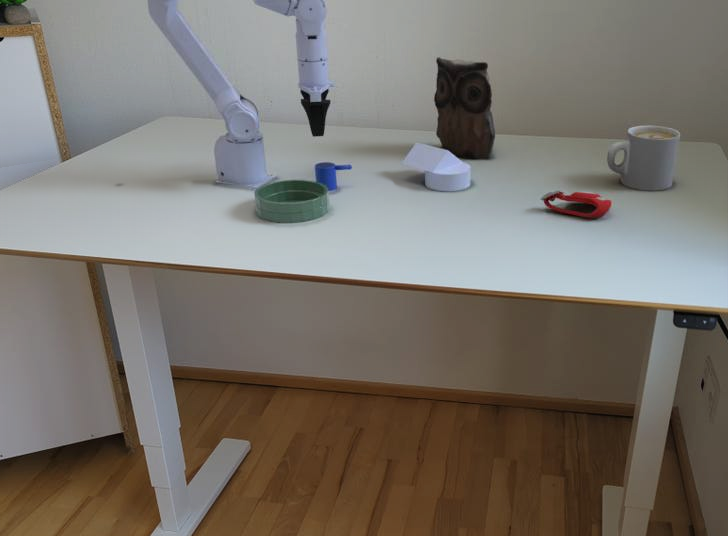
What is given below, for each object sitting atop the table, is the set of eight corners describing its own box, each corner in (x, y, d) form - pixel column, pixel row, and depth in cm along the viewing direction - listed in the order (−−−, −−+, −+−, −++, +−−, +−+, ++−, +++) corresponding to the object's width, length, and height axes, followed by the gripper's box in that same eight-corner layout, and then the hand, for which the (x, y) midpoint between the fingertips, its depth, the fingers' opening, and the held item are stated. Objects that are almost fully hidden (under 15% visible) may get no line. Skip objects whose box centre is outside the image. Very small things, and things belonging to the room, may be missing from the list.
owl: (495, 160, 172) (499, 63, 162) (437, 162, 171) (438, 64, 161) (487, 144, 183) (490, 52, 172) (432, 145, 182) (432, 53, 172)
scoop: (316, 194, 154) (315, 168, 151) (316, 187, 157) (314, 162, 155) (353, 192, 155) (352, 166, 152) (352, 185, 158) (351, 160, 156)
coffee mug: (667, 175, 163) (675, 126, 157) (676, 191, 154) (684, 139, 149) (601, 173, 164) (607, 124, 159) (605, 189, 155) (612, 138, 150)
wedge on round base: (401, 180, 161) (449, 194, 153) (401, 147, 158) (450, 160, 150) (431, 169, 167) (479, 183, 159) (431, 137, 163) (480, 149, 156)
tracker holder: (590, 192, 150) (625, 195, 142) (587, 216, 151) (621, 220, 143) (537, 186, 145) (570, 189, 136) (534, 211, 146) (566, 215, 137)
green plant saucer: (242, 219, 143) (240, 198, 141) (280, 196, 153) (278, 176, 151) (307, 229, 138) (305, 207, 136) (341, 205, 149) (340, 184, 147)
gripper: (335, 65, 146) (339, 139, 153) (331, 51, 158) (335, 120, 165) (296, 67, 145) (302, 141, 152) (296, 52, 157) (301, 122, 164)
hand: (317, 130), depth 158 cm, fingers open, 7 cm apart
